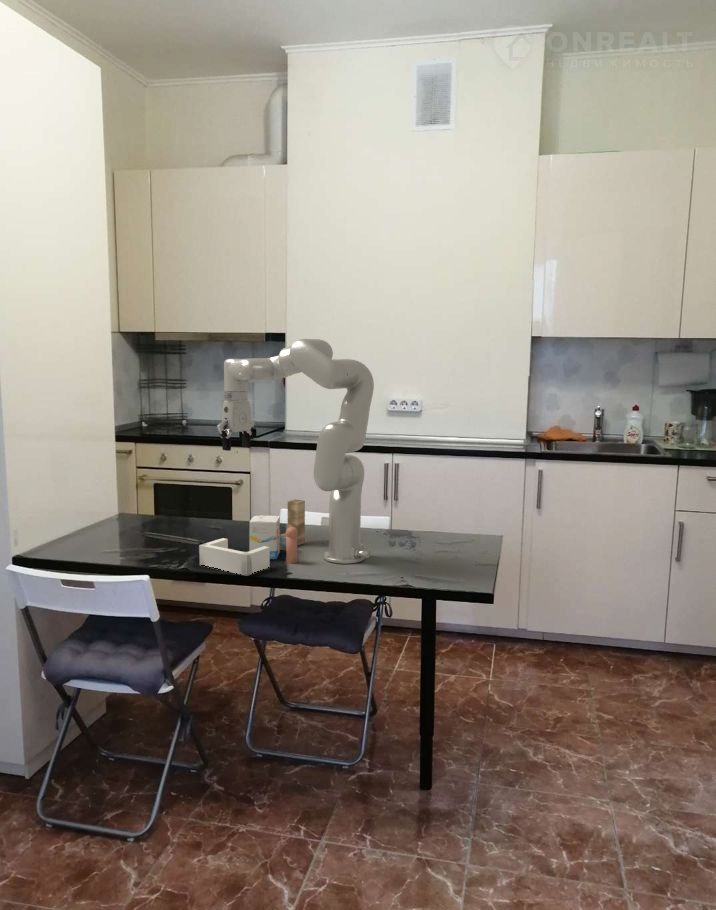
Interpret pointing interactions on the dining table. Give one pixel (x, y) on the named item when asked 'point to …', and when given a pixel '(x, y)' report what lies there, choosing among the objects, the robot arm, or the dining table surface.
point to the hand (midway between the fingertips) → (236, 448)
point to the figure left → (291, 545)
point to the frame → (233, 557)
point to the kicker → (295, 522)
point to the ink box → (265, 534)
